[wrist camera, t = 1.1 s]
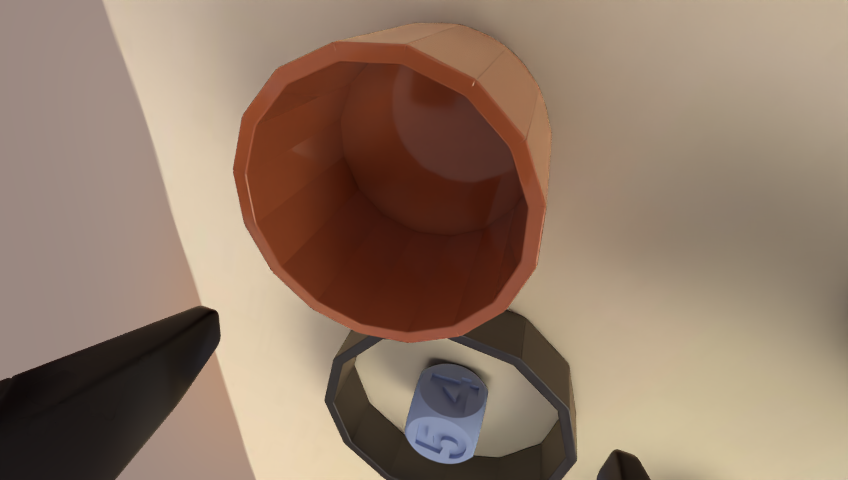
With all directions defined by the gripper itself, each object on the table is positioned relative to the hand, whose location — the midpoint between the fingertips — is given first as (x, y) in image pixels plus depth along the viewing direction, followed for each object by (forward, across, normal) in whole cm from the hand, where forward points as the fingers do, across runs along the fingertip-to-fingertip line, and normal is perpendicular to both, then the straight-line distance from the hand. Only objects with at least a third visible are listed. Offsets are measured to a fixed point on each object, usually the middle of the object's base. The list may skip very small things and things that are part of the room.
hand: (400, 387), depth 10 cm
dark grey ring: (+13, -1, +14) cm, 19 cm away
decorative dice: (+13, -1, +14) cm, 20 cm away
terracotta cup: (+13, +3, -1) cm, 13 cm away
